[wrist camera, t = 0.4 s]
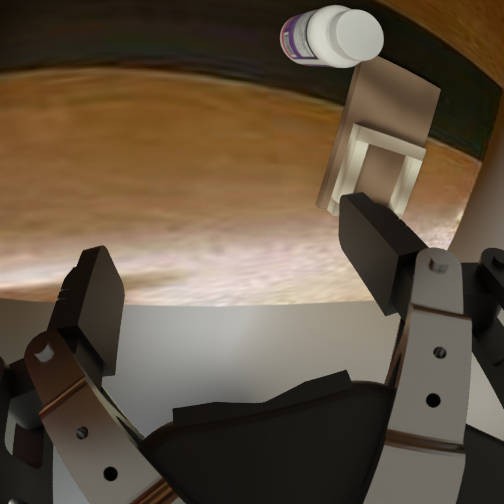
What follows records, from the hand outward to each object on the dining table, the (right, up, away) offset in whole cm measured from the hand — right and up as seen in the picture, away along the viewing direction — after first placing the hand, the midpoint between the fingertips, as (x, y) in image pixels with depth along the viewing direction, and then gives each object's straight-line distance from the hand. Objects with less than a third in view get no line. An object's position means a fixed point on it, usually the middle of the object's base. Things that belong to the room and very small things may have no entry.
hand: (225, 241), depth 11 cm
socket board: (+16, +12, +22) cm, 30 cm away
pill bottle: (+6, +20, +15) cm, 25 cm away
